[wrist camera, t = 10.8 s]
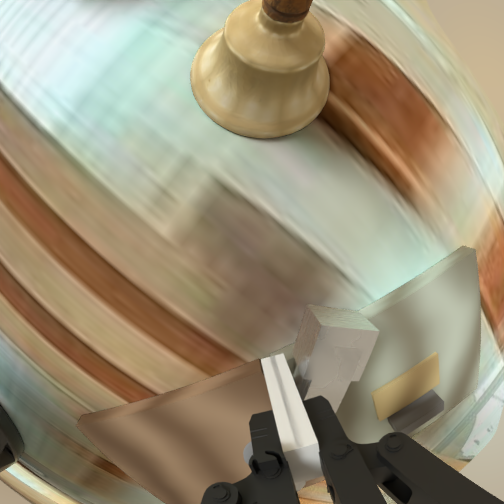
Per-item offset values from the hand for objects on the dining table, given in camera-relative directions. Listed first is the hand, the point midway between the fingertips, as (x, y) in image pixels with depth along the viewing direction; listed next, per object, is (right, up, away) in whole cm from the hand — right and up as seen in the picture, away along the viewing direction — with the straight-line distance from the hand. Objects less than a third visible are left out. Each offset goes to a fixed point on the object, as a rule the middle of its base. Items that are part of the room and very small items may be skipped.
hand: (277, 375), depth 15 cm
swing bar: (+1, -3, +2) cm, 4 cm away
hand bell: (-1, +17, 0) cm, 17 cm away
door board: (+3, -7, +5) cm, 9 cm away
